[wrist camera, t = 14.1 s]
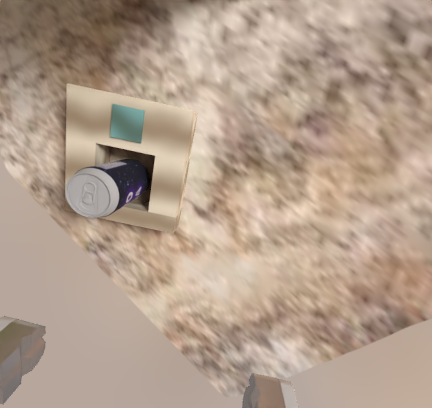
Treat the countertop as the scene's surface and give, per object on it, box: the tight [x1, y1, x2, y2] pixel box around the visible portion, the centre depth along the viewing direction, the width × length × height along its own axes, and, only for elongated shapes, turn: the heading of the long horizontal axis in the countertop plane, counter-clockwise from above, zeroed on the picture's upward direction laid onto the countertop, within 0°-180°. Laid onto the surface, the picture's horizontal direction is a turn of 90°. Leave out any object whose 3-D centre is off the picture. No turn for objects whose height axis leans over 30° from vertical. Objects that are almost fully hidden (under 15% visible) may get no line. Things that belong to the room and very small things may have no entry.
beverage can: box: [65, 159, 150, 218], centre depth 29 cm, size 6×6×12 cm
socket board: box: [65, 83, 197, 233], centre depth 32 cm, size 17×16×4 cm
